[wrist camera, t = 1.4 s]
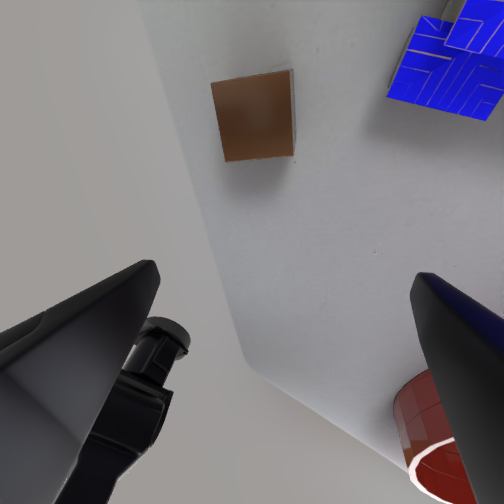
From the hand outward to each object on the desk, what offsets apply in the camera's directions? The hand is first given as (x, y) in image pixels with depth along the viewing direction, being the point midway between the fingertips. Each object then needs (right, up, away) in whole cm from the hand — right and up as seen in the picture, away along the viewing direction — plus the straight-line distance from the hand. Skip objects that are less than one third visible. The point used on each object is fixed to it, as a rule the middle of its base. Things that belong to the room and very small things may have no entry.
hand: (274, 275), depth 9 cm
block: (0, +10, +8) cm, 13 cm away
